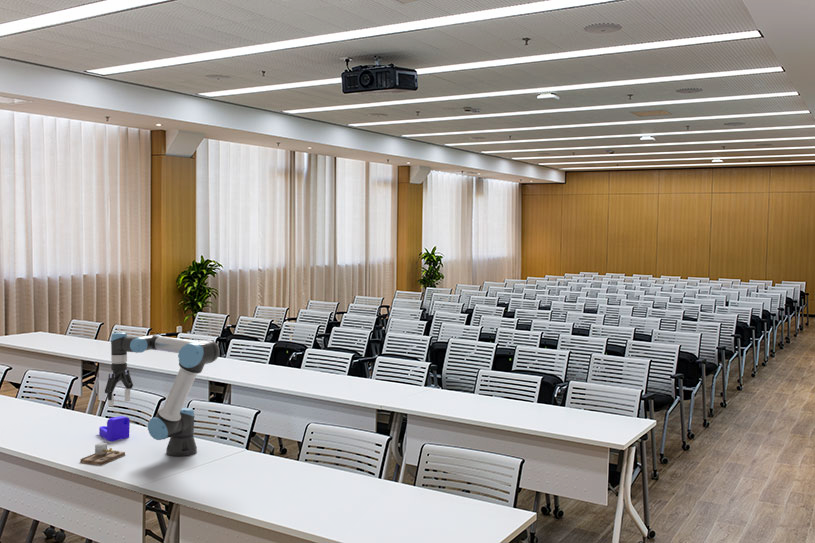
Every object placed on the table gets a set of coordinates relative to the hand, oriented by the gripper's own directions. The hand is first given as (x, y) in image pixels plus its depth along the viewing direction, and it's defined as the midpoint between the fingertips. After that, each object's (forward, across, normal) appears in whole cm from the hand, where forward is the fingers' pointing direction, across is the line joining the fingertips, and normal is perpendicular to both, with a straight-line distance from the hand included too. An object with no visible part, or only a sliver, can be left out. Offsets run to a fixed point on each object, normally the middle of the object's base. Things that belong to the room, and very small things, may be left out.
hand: (119, 403), depth 372 cm
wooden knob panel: (+25, +14, +1) cm, 29 cm away
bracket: (+24, -22, -21) cm, 39 cm away
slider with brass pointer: (+23, +13, +2) cm, 27 cm away
